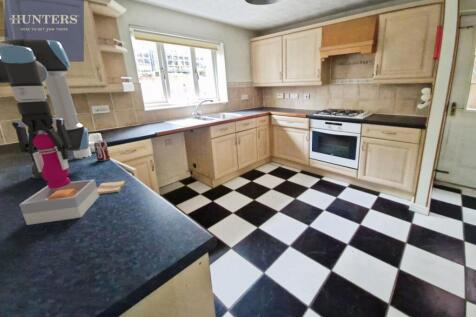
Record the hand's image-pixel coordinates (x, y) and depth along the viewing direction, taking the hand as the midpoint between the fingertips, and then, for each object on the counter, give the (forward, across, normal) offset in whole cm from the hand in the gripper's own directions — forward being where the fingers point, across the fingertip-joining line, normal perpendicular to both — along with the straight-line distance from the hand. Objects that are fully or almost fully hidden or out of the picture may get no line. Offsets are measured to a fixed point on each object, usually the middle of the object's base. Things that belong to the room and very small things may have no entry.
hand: (54, 169), depth 76 cm
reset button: (+13, 0, 0) cm, 13 cm away
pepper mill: (+6, 0, 0) cm, 6 cm away
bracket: (+16, -25, +86) cm, 91 cm away
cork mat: (+15, +10, +15) cm, 24 cm away
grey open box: (+15, 0, 0) cm, 15 cm away
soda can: (+15, -9, +64) cm, 67 cm away
